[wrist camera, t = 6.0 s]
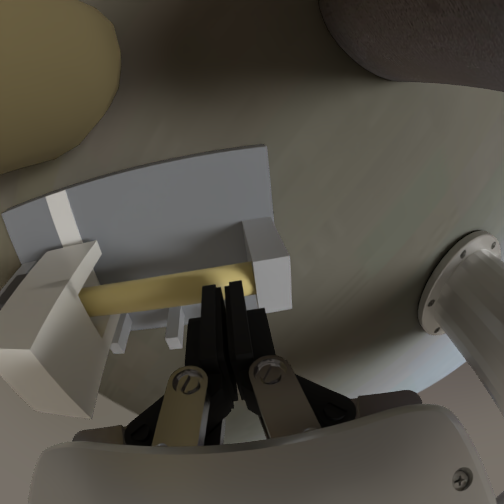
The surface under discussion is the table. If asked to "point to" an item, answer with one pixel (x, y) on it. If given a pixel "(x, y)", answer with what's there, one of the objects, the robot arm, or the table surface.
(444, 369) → the table surface
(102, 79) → the squeeze bottle
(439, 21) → the pillar candle
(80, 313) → the white block
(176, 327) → the gray assembly board
